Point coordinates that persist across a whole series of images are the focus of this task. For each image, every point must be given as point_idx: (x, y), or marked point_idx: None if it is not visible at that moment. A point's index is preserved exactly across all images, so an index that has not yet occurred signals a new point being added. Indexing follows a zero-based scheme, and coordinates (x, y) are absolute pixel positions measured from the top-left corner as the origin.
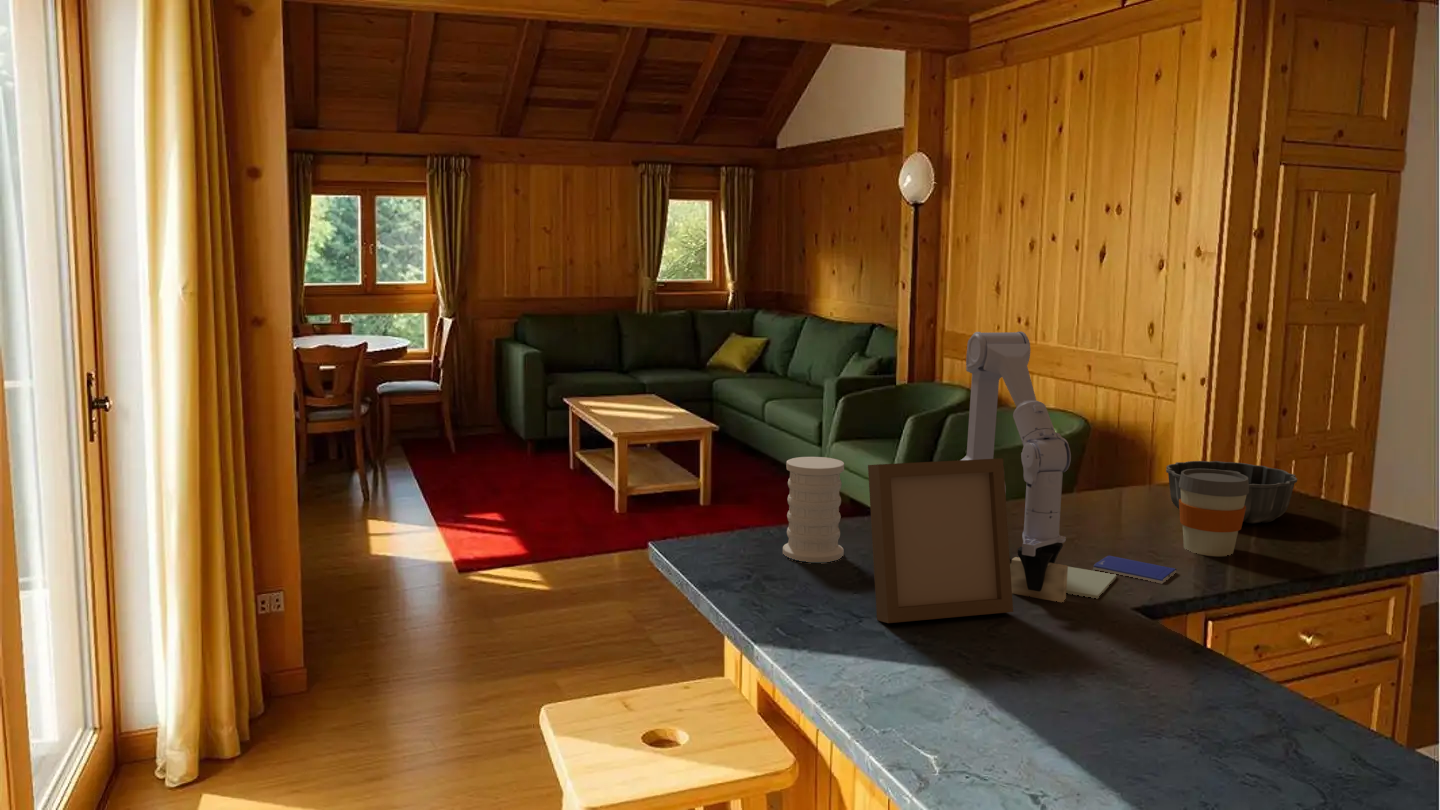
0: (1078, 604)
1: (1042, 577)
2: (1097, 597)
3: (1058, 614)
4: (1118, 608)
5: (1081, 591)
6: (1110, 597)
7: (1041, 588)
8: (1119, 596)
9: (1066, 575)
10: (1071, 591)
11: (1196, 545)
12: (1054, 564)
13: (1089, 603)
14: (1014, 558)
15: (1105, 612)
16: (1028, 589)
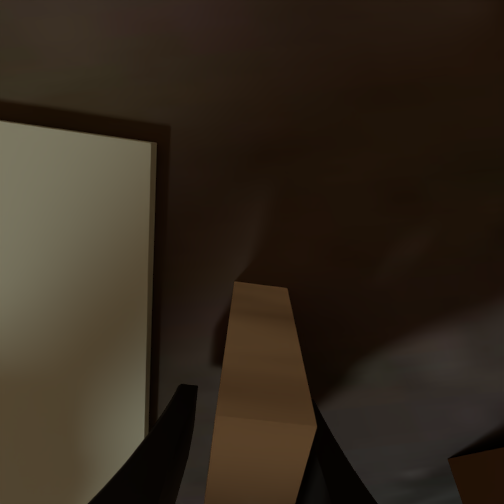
0: (284, 222)
1: (348, 463)
2: (154, 143)
3: (458, 285)
4: (261, 3)
5: (125, 231)
6: (81, 74)
7: None
8: (28, 20)
9: (244, 362)
10: (147, 274)
11: None
12: (237, 489)
13: (244, 175)
14: None
15: (362, 76)
16: None
